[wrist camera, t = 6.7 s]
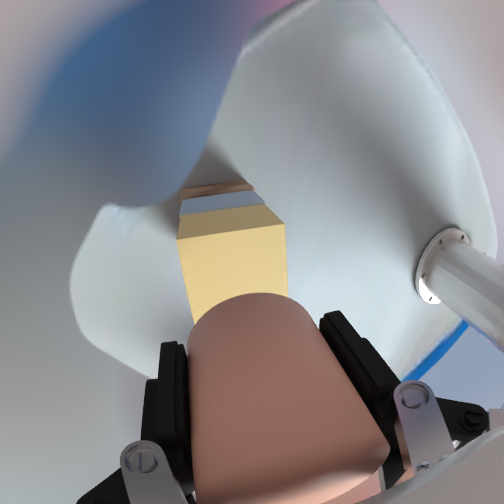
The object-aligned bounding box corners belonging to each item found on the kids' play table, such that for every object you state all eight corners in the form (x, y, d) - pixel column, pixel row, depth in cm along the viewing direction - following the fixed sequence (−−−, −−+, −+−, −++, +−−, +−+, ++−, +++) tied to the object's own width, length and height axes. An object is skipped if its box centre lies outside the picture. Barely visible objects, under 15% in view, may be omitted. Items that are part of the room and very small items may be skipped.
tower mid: (252, 189, 25) (265, 201, 20) (258, 254, 27) (271, 278, 23) (182, 199, 24) (178, 214, 19) (193, 264, 26) (193, 291, 22)
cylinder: (316, 280, 10) (414, 407, 5) (313, 376, 12) (367, 487, 7) (172, 305, 10) (167, 471, 4) (202, 399, 11) (217, 525, 6)
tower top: (264, 203, 20) (284, 223, 16) (270, 278, 23) (288, 313, 18) (180, 215, 20) (176, 240, 15) (194, 290, 22) (195, 329, 17)
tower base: (245, 180, 29) (254, 187, 25) (250, 238, 32) (260, 256, 27) (182, 188, 28) (179, 198, 24) (191, 247, 31) (191, 267, 26)
